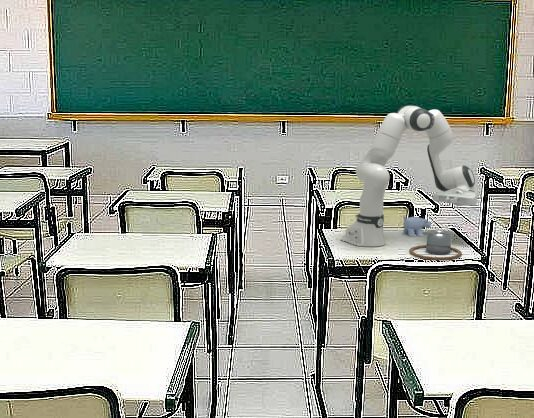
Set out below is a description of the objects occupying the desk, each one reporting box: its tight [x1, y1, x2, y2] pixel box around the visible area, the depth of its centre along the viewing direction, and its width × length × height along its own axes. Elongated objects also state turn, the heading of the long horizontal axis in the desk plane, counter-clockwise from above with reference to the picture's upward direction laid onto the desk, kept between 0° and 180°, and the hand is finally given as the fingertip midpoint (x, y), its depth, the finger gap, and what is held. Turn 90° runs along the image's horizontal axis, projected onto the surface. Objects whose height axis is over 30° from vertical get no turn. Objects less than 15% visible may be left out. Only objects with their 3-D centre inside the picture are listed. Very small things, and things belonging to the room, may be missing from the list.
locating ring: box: [408, 244, 463, 261], centre depth 345 cm, size 23×23×1 cm
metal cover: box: [425, 229, 453, 256], centre depth 347 cm, size 11×11×10 cm
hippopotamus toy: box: [402, 216, 432, 238], centre depth 381 cm, size 11×15×10 cm
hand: (448, 201), depth 352 cm, fingers closed
